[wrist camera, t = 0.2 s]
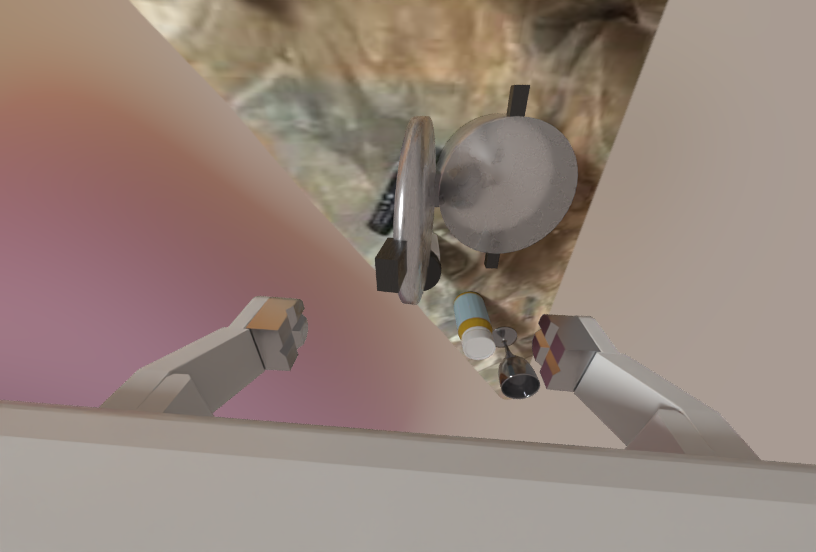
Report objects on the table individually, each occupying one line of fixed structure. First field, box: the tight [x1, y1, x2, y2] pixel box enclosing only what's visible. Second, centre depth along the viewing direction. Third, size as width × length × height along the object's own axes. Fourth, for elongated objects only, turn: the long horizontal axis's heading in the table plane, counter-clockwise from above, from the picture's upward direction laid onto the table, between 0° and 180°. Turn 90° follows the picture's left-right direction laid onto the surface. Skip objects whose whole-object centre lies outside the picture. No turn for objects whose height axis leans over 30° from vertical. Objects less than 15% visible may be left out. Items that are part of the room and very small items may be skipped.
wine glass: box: [492, 327, 540, 399], centre depth 67 cm, size 8×8×15 cm
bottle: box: [454, 292, 495, 360], centre depth 62 cm, size 7×7×15 cm
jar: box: [423, 232, 441, 291], centre depth 55 cm, size 9×8×12 cm
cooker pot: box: [434, 85, 578, 268], centre depth 48 cm, size 27×21×12 cm
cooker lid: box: [375, 116, 436, 305], centre depth 33 cm, size 21×24×2 cm
